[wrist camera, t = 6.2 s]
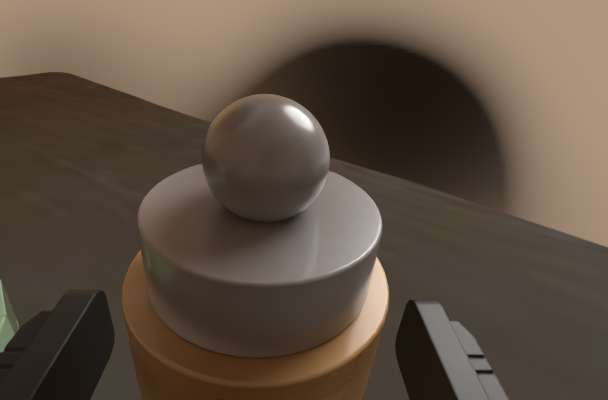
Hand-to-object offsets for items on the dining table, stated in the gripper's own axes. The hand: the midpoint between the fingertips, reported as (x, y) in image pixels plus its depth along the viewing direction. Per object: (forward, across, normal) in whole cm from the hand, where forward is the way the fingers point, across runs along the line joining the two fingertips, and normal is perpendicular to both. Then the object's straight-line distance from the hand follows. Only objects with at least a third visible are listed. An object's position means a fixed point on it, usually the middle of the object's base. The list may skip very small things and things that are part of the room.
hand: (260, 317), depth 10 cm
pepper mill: (-2, 0, +8) cm, 8 cm away
